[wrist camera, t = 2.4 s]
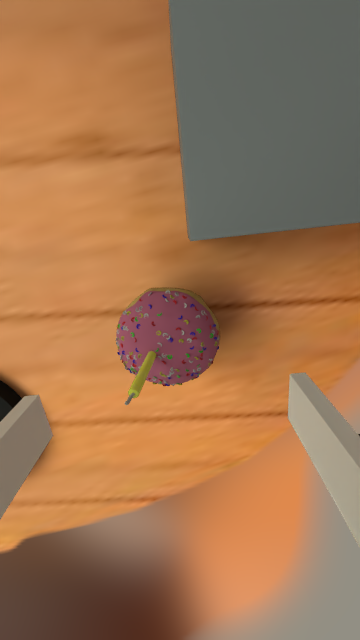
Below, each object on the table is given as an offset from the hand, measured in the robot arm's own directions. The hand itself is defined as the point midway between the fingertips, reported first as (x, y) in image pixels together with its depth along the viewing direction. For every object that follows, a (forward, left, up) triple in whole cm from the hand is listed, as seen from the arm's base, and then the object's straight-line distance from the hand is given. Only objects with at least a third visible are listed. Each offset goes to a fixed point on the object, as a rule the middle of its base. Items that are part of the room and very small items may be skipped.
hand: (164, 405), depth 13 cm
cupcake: (0, 0, -13) cm, 13 cm away
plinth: (-14, +9, -13) cm, 21 cm away
